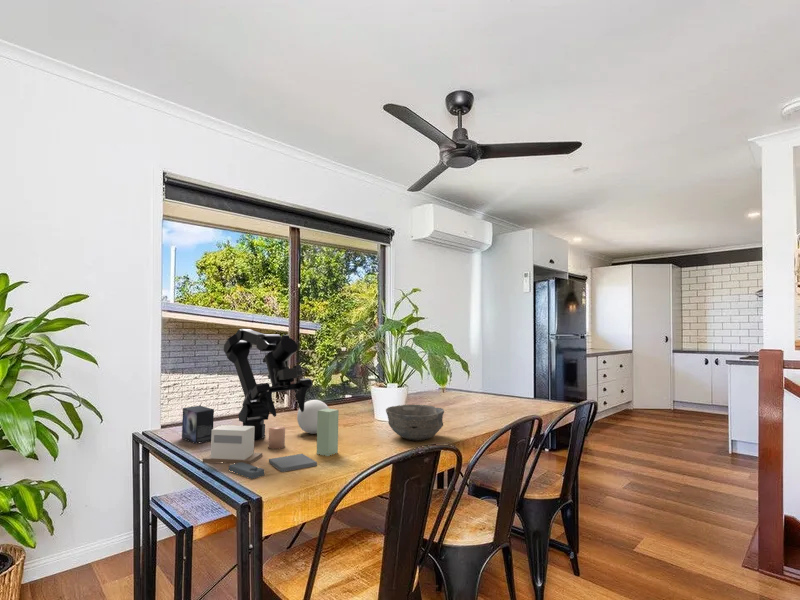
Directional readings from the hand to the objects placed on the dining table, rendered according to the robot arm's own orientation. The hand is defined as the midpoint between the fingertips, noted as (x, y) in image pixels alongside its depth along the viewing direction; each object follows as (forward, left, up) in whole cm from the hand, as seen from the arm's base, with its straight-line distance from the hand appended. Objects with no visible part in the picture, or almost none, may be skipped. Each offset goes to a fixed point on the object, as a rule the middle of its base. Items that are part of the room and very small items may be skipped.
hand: (289, 413), depth 136 cm
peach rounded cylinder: (-6, +6, -12) cm, 14 cm away
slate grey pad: (+5, -11, -12) cm, 17 cm away
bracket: (-4, -20, -12) cm, 24 cm away
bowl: (+37, +25, -12) cm, 46 cm away
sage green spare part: (+12, +1, -12) cm, 17 cm away
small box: (-36, +11, -12) cm, 39 cm away
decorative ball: (0, +26, -12) cm, 28 cm away
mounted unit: (-13, -9, -12) cm, 20 cm away
